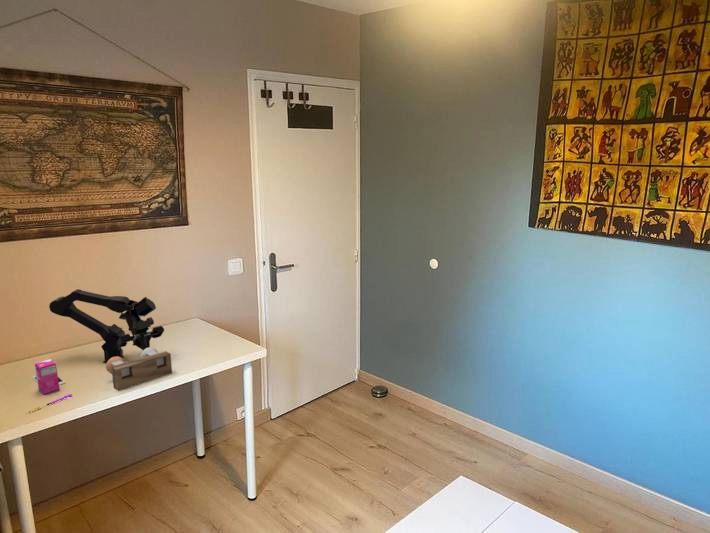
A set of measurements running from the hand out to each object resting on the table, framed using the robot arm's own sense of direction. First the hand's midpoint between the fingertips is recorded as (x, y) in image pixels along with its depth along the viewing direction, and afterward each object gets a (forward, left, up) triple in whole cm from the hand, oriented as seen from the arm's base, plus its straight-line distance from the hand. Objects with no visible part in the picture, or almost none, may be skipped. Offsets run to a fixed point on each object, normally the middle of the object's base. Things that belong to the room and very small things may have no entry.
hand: (148, 353), depth 212 cm
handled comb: (-24, -32, -7) cm, 41 cm away
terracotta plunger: (-6, -14, -4) cm, 16 cm away
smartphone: (-36, -12, -7) cm, 38 cm away
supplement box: (-31, -21, -7) cm, 38 cm away
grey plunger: (+3, -4, -4) cm, 7 cm away
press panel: (+2, -12, -7) cm, 14 cm away
